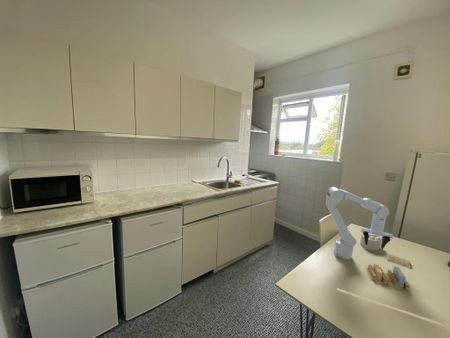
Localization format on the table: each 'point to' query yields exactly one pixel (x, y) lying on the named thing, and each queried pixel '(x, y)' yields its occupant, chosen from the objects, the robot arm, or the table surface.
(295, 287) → the table surface
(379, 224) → the robot arm
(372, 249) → the lumpy-topped squat cylinder
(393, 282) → the rack
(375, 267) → the wooden block
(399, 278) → the pale blue block
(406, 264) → the clay tablet
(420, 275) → the table surface
